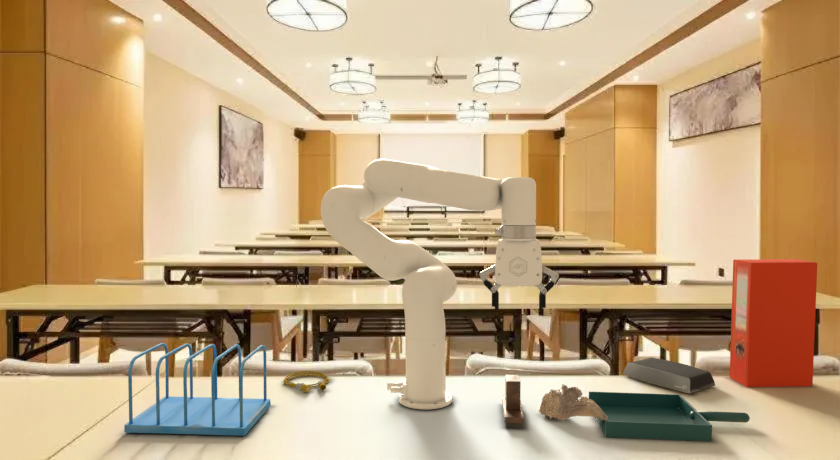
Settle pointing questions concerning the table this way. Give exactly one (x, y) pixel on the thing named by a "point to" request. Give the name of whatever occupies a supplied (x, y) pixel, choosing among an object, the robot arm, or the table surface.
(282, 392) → the table surface
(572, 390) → the rock
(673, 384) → the hard drive
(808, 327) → the file binder
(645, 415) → the dustpan
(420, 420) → the table surface
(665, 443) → the table surface
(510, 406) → the brown stepped block
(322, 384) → the gold rope bracelet
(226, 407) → the file sorter
